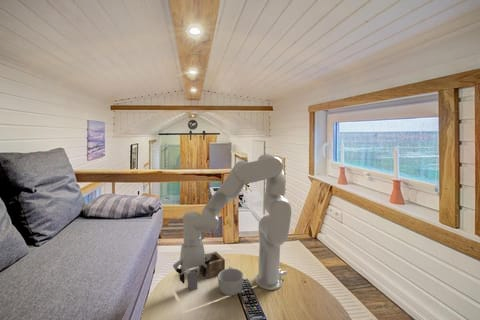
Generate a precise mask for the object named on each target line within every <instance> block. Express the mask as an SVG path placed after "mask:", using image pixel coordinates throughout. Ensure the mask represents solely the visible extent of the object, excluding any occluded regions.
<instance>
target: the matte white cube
mask: <svg viewBox="0 0 480 320" xmlns="http://www.w3.org/2000/svg"><path fill="white" fill-rule="evenodd" d="M194 271H195V272H196V274H197V276H200V270H199V266H197V267H194V268H190V269H186V270H185V272H184V273H185V274H186V275H187V276H188V273H191V272H194Z"/></svg>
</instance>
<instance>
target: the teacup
mask: <svg viewBox="0 0 480 320" xmlns="http://www.w3.org/2000/svg"><path fill="white" fill-rule="evenodd" d="M243 276H244V275H243V272H242V271H241V270H240V269H238V268H233V266H229V267H228V268H225V270H222V271H221V272H220V273H219V274H218V276H217V280H218V289H219V291H220V292H221V293H222V294H223V295H225V296H227V297H233V296H236V295H237V294H239V293H240V292H241V291H242V289H243V285H244V284H243V281H244V279H243V278H244V277H243Z"/></svg>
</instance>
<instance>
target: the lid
mask: <svg viewBox="0 0 480 320" xmlns="http://www.w3.org/2000/svg"><path fill="white" fill-rule="evenodd" d="M187 289H189V291H190V292H192V291H195V290H198V275H197V274H196V272H195V271H191V273H188V275H187Z"/></svg>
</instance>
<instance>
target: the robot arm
mask: <svg viewBox="0 0 480 320" xmlns="http://www.w3.org/2000/svg"><path fill="white" fill-rule="evenodd" d="M283 168H284V164H283V161H282V159H281V158H279V157H278V156H275V155H272V154H267V153H266V154H262V155H260V156H259V157H258V158H257V160H254V161H245V160H240V161H238V162H236V163H235V164H234V166H233V167H232V169H231V170H230V171H229V173H228V175H227V176H226V178H225V180H224V181H223V182H222V184H221V185H220V187H219V188H217V190H216V191H215V192H214V193H213V194H212V196H211V197H210V199H209V200H208V201H207V203H205V206H204V208H203V209H202V210H201V212H198V211H189V212H188V211H187V212H185V213H184V214H183V218H182V222H183V223H182V226H183V227H182V229H183V243H182V244H181V248H180V257H179V260H178V261H176V262H175V263H173V265H172V267H173V268H174V270H175V272H176V273H178V274H179V281H180V282H181V283H182V284H185V281H186V280H185V273H186V272H185V270H186V269H190V268H194V267H197V266H200V265H202V266H201V272H202V273H201V272H200V273H201V275H202V276H203V277H204V278H205V276H206V268H207V265H208V264H209V263H210V260H211V257H212V256H211V255H209V253H205V247H204V242H203V241H202V240H205V236H204V235H202V231H203V232H213V231H216V230H217V229H218V228H219V226H220V219H219V214H220V212H221V211H222V210H223V209H224V207H225V206H226V205H227V204H228V203H229V202H232V201H234V200H236V199H237V198H238V196H239V195H240V193H241V191H243V188H244V187H245V185H246V184H253V183H257V182H260V181H264V180H265V181H266V184H265V190H264V191H265V192H264V199H263V207H264V210H265V212H266V213H267V214H266V215H264V216H262V217H261V218H260V220H259V222H258V238H259V240H258V241H259V242H258V243H259V244H258V246H259V247H258V248H259V249H258V274H257V275H256V276H255V277H254V282H255V283H256V286H257V287H258V288H260V289H263V290H267V291H275V290H278V289H280V288H281V287H282V286H283V278H282V277H283V276H286V275H287V272H288V271H287V270H282V269H281V268H280V262H281V261H280V260H281V259H280V258H281V257H280V255H281V246H282V245H283V244H285V242H286V241H287V239H288V236H289V233H290V232H289V231H290V226H291V219H292V206H291V203H290V202H289V201H288V199H286V198H285V191H286V190H285V189H286V175H285V173H284V170H283ZM205 257H206V258H207V259H206V261H205ZM179 266H180V267H179ZM178 267H179V268H178Z"/></svg>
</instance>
